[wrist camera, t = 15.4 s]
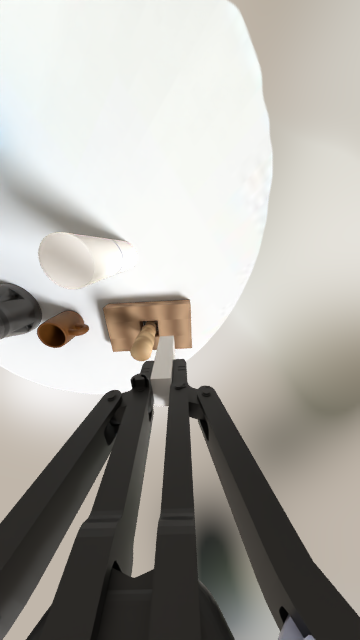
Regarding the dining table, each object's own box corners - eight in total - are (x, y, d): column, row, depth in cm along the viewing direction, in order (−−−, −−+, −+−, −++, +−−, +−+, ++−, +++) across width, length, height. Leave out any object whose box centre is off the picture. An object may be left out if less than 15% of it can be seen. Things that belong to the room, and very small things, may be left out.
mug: (95, 308, 51) (78, 320, 43) (101, 330, 54) (87, 346, 45) (56, 310, 51) (31, 323, 43) (64, 333, 54) (42, 349, 46)
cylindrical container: (124, 274, 47) (72, 299, 24) (104, 253, 45) (27, 258, 22) (143, 257, 46) (105, 266, 23) (123, 234, 44) (60, 218, 21)
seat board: (117, 344, 56) (113, 351, 52) (108, 303, 51) (102, 308, 47) (190, 341, 56) (191, 348, 52) (189, 299, 50) (190, 303, 47)
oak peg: (145, 330, 54) (132, 361, 39) (143, 317, 52) (128, 344, 38) (159, 330, 54) (152, 360, 39) (158, 316, 52) (149, 343, 37)
